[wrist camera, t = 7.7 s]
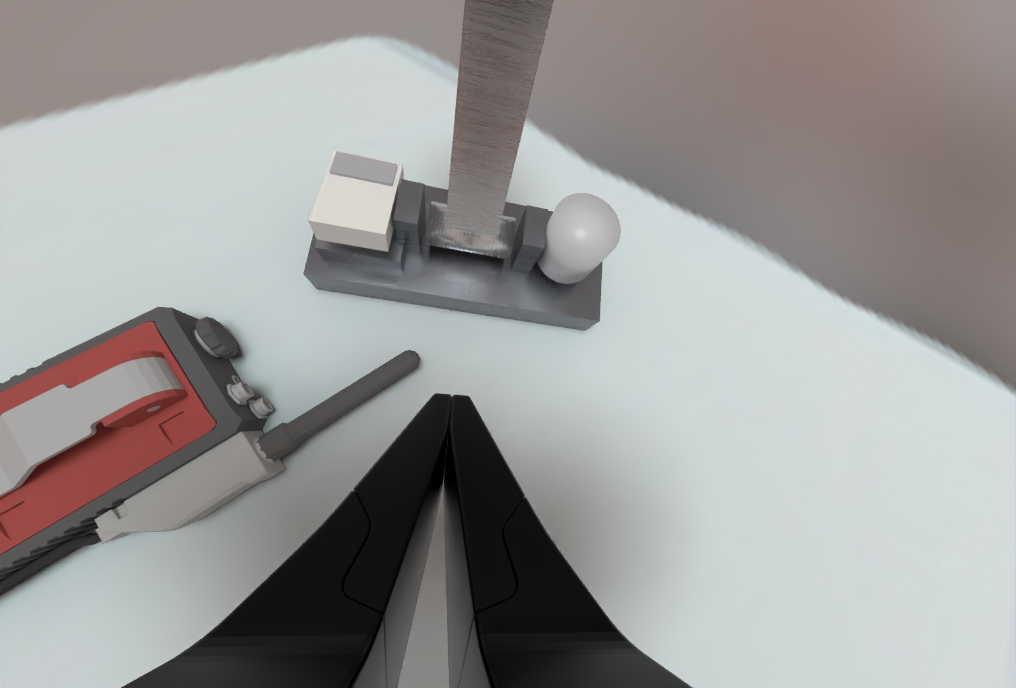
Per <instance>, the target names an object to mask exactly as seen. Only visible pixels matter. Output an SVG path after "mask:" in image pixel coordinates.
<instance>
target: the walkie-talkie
mask: <svg viewBox="0 0 1016 688" xmlns="http://www.w3.org/2000/svg"><path fill="white" fill-rule="evenodd" d="M237 354H238V345H237V343H236V341H235V340H234V338H233V337H232V335H231V334H230V333H229V332H228V331H227V330H226V329H225V327H224V326H223V325H222V324H220V323H219V322H218V321H216V320H215V319H212V318H209V317H205V318H203V319H200V320H199V319H196V318H194V317H192V316H189V315H187V314H185V313H182V312H180V311H178V310H176V309H173V308H166V307H157V308H155V309H153V310H151V311H149V312H146V313H144V314H142V315H140V316H138V317H136V318H134V319H132V320H130V321H128V322H126V323H124V324H121V325H119V326H117V327H115V328H113V329H111V330H109V331H107V332H105V333H103V334H101V335H98V336H96V337H94V338H92V339H90V340H88V341H86V342H84V343H82V344H80V345H78V346H75V347H73V348H71V349H69V350H67V351H65V352H63V353H61V354H59V355H57V356H55V357H53V358H50V359H48V360H46V361H44V362H43V363H42V365H40V366H38V367H36V368H30V369H28V370H27V371H26V372H25V373H23V374H21V375H19V376H17V375H15V376H13V377H11V379H10V380H9V381H6V382H4V383H0V595H2V594H4V593H5V592H7V591H9V590H10V589H12V588H13V587H15V586H17V585H18V584H20V583H22V582H23V581H25V580H26V579H28V578H30V577H31V576H33V575H35V574H36V573H38V572H39V571H41V570H43V569H44V568H46V567H48V566H49V565H51V564H53V563H54V562H56V561H58V560H59V559H61V558H63V557H64V556H66V555H68V554H70V553H71V552H73V551H75V550H76V549H78V548H80V547H82V546H85V545H92V544H96V543H98V542H100V541H102V542H103V544H104V543H106V542H109V541H112V540H115V539H118V538H120V537H123V536H126V535H128V534H129V533H131V532H158V531H172V530H176V529H179V528H181V527H184V526H186V525H189V524H191V523H193V522H196V521H198V520H200V519H202V518H203V517H205V516H207V515H208V514H210V513H211V512H213V511H214V510H216V509H217V508H219V507H221V506H222V505H224V504H225V503H227V502H228V501H230V500H232V499H233V498H235V497H236V496H238V495H239V494H241V493H242V492H244V491H246V490H247V489H249V488H250V487H252V486H253V485H255V484H257V483H258V482H261V481H264V480H267V479H270V478H272V477H273V476H275V475H276V474H278V473H279V472H281V471H282V470H283V469H284V465H283V464H282V462H281V461H280V458H281V457H283V456H284V455H286V454H288V453H289V452H291V451H292V450H294V449H296V448H297V447H299V445H300V442H301V441H302V440H304V439H305V438H307V437H309V436H310V435H312V434H313V433H315V432H316V431H318V430H320V429H321V428H323V427H324V426H326V425H327V424H329V423H331V422H332V421H334V420H335V419H337V418H338V417H340V416H342V415H343V414H345V413H346V412H348V411H349V410H351V409H353V408H354V407H356V406H357V405H359V404H360V403H362V402H364V401H365V400H367V399H368V398H370V397H372V396H373V395H375V394H376V393H378V392H379V391H381V390H382V389H384V388H386V387H387V386H389V385H390V384H392V383H393V382H395V381H397V380H398V379H400V378H401V377H403V376H404V375H406V374H408V373H409V372H411V371H412V370H414V369H415V368H417V367H418V365H419V363H420V358H419V356H418V354H417V353H416V352H415V351H411V350H408V351H404V352H403V353H401V354H400V355H398V356H396V357H395V358H393V359H392V360H390V361H388V362H387V363H385V364H383V365H382V366H380V367H379V368H377V369H375V370H374V371H372V372H371V373H369V374H367V375H366V376H364V377H362V378H361V379H359V380H358V381H356V382H354V383H353V384H351V385H350V386H348V387H346V388H345V389H343V390H341V391H340V392H338V393H337V394H335V395H333V396H332V397H330V398H328V399H327V400H325V401H324V402H322V403H320V404H319V405H317V406H316V407H314V408H312V409H311V410H309V411H307V412H306V413H304V414H303V415H301V416H299V417H298V418H296V419H295V420H293V421H291V422H290V423H288V424H287V423H281V424H280V425H278V426H277V427H275V428H273V429H272V430H270V431H268V432H267V433H265V434H264V433H263V432H262V429H263V426H264V424H265V422H266V418H267V416H266V415H267V414H269V413H270V412H272V411H273V407H272V405H271V404H270V402H269V401H268V400H267V399H266V398H264V397H263V398H262V397H261V398H259V399H258V400H253V398H252V397H253V396H254V394H253V391H252V390H251V388H250V387H249V386H248V385H247V384H246V383H245V382H242V381H241V379H240V377H239V376H238V374H237V373H236V371H235V370H234V368H233V366H232V365H231V363H230V362H229V360H228V359H230V358H232V357H234V356H236V355H237ZM93 531H96V533H90V532H93ZM89 533H90V534H89Z"/></svg>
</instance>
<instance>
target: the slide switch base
mask: <svg viewBox="0 0 1016 688" xmlns="http://www.w3.org/2000/svg"><path fill="white" fill-rule="evenodd" d="M432 201H433V202H438V203H443V204H447V201H448V190H445V189H440V188H435V187H431V186H426V185H424V184H422V183H417V182H412V181H407V180H403V179H401V183H400V188H399V193H398V199H397V204H396V209H395V214H394V219H393V220H394V229H393V234H392V238H391V242H390V246H389V250H388V252H386V251H381V250H375V249H369V248H364V247H358V246H352V245H346V244H341V243H335V242H329V241H324V240H318V239H316V237H315V235H314V234H313V238H312V242H311V246H310V250H309V254H308V258H307V262H306V266H305V270H304V275H305V276H306V277H307V278H308V280H309V281H310V282H311V283H312V284H313V285H314V286H315V287H316V289H321V290H327V291H334V292H340V293H347V294H353V295H360V296H366V297H373V298H379V299H386V300H392V301H399V302H405V303H412V304H418V305H424V306H431V307H437V308H444V309H450V310H457V311H463V312H470V313H476V314H483V315H489V316H496V317H502V318H508V319H515V320H521V321H528V322H534V323H541V324H547V325H554V326H560V327H567V328H573V329H580V330H587V329H588V328H590V327H591V326H593V325H595V324H596V323H598V322H599V321H600V301H601V279H602V262H601V263H600V264H599V265H598V266H596V267H595V268H594V269H593V270H592V271H591V272H590V273H589V274H588V275H587V276H586V277H585V278H584V279H583V280H581V281H579V282H576V283H572V284H564V283H559V282H556V281H554V280H552V279H550V278H549V277H548V276H546V275H545V274H544V273H543V272H542V270H541V269H540V267H539V265H538V263H537V259H538V258H539V256H540V254H541V253H542V251H543V250H544V246H545V234H546V225H547V223H548V221H549V219H550V217H551V216H552V214H553V212H552V211H548V209H543V208H538V207H533V206H528V205H527V206H523V205H518V204H513V203H508V202H505V205H504V209H503V214H502V215H503V216H508V217H513V218H515V219H516V227H515V235H514V241H513V246H512V250H511V253H510V256H509V259H503V258H498V257H492V256H487V255H481V254H476V253H470V252H465V251H459V250H454V249H448V248H443V247H437V246H432V245H427V244H426V235H427V223H428V216H429V210H430V205H431V202H432Z"/></svg>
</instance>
